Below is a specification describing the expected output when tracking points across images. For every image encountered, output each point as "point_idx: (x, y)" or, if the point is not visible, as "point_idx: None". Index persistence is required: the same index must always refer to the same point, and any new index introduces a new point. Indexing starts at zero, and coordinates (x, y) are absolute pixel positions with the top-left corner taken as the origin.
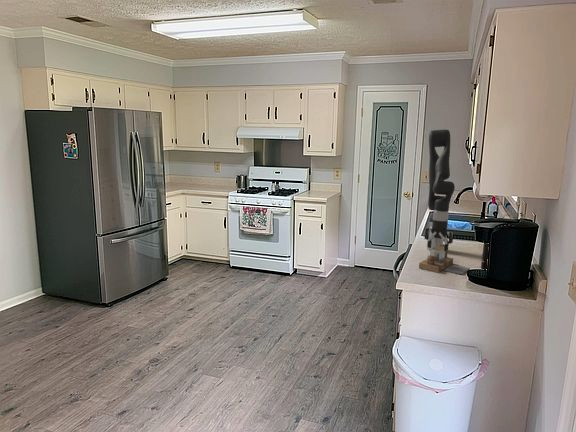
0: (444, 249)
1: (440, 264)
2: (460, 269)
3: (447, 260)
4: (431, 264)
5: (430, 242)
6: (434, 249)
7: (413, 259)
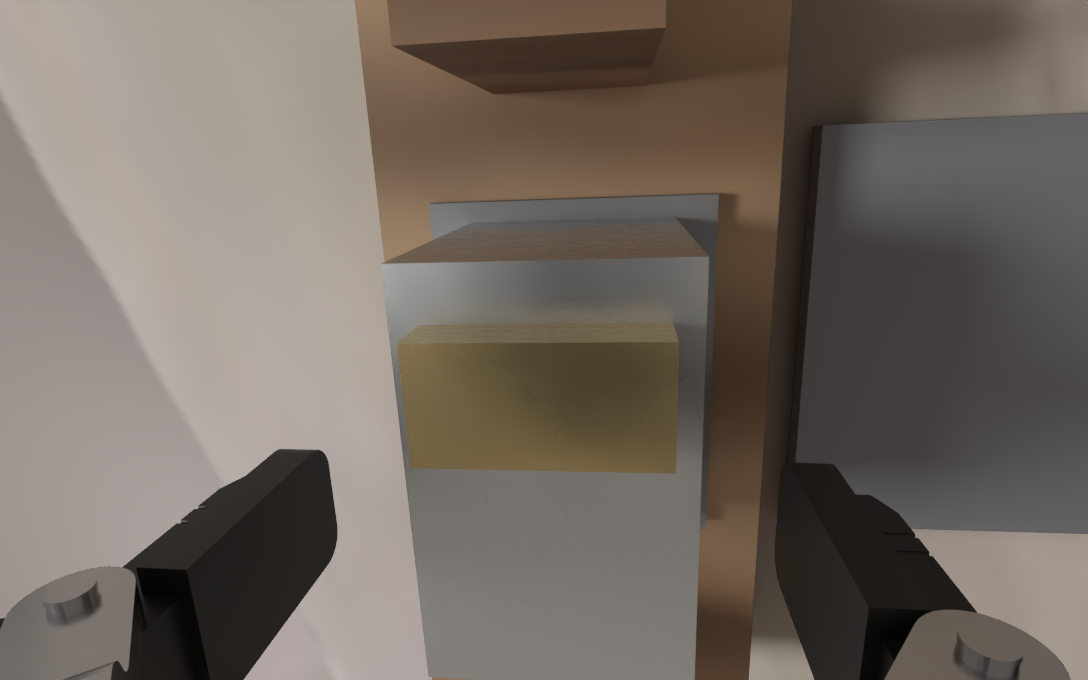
0: (794, 600)
1: (727, 561)
2: (1032, 329)
3: (742, 200)
4: None
5: (239, 640)
6: (518, 639)
7: (154, 257)
